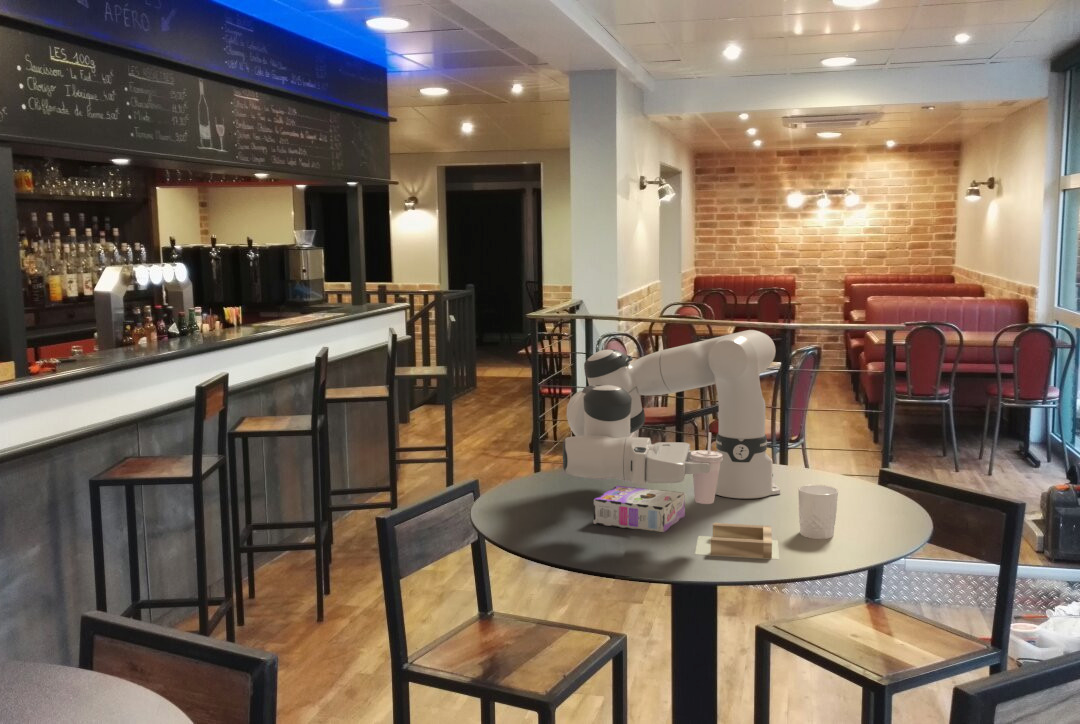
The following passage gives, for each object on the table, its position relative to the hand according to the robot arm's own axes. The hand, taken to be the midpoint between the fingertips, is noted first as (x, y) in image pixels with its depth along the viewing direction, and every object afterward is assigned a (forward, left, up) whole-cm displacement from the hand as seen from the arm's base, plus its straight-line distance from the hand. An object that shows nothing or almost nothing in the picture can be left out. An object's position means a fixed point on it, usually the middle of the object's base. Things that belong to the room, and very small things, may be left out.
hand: (710, 463), depth 197 cm
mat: (-1, +5, -18) cm, 18 cm away
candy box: (-19, -24, -15) cm, 34 cm away
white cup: (-13, +21, -18) cm, 31 cm away
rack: (-1, +5, -17) cm, 18 cm away
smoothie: (0, -1, -8) cm, 8 cm away
